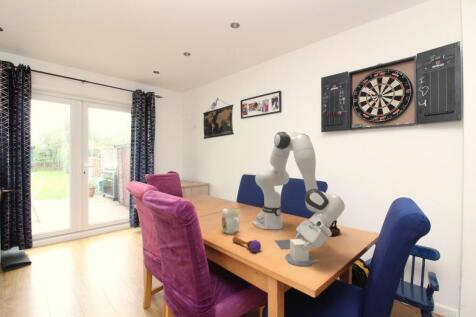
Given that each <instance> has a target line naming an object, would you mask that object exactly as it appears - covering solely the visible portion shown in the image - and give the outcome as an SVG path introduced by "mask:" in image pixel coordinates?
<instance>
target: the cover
mask: <svg viewBox="0 0 476 317" xmlns="http://www.w3.org/2000/svg"><path fill="white" fill-rule="evenodd" d="M289 240H290V249H289V254H290V256H291V258H292V259H293V260H294V261H295V262H304V261H309V256H310V253H309V252H310V248H308V249H306V251H304V250H303V249H302V248H301V247H302V246H303V245H305V244H307V242H308V241H306V239H305V238H300V239H295V238H294V239H293V238H292V239H291V238H290V239H289Z"/></svg>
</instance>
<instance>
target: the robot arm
mask: <svg viewBox="0 0 476 317" xmlns="http://www.w3.org/2000/svg"><path fill="white" fill-rule="evenodd" d="M273 143H274V146H273V149H272V150H271V151H272V152H271V153H270V154H271V156H270V157H269V158H270V159H269V163H270V165H271V167H273V168H272V169H270V170H261V171H258V172H257V173H256V174H255V178H254V180H255V184H256V185H257V187H258V186H259V187H260V189H261V190H262V193H263V199H264V200H263V201H264V202H263V203H264V205H262V206H261V209H262V211H260V212H258V213H257V214H256V217H255V220H253V221H252V225H255V226H256V227H258V228H260V229H262V230H280V229H282V228H284V226H283V219H282V206H281V204H282V203H281V201H282V200H281V194H280V193H279V192H277V191H276V190H275V187H280V186H284V185H287V184H288V183H289V180H290V175H289V173H288V171H287V169H286V166H287V162H288V160H289V156H290V153H291V151H292V152H293V157H294V161H295V163H296V166H297V168H298V170H299V172H300V174H301V177H302V178H303V182H304V183H303V184H304V186H305V191H306V192H305V194H304V202H305V208H306V210H307V211H308V212H309V213H310V214H313V215H312V216H311V217H310V218H308V219H306V220H305V219H304V220H303V221H302V222H300V224H299V225H298V226H297V227H296V229H295V230H296V232H297V234H296V236H295V238H294V239H301V238H302V237H303V239H304V240H305V241H306V240H307V241H306V242H307V244H305V245H303V246H302V247H301V248H302V249H303V250H304V251H306V249H308V248H309V249H310V248H312V247H314V248H315V249H318V248H320V247H321V246H322V245H323V244H324V243H325V242H326V241H327V239H328V238H329V237H331V236H333V234H332V233H331V231H330V229H329V227H330V226H331V224H332V222H333V221H335V220H336V219H337V220H338V218H340V216H341V215H342V214H343V212H344V211H345V208H346V206H345V203H344V201H343V199H341V198H340V196H338V195H337V194H330V193H327V192H324V191H322V190H320V189H319V187H318V183H317V179H316V167H317V166H316V165H317V161H316V160H317V158H316V153H315V149H314V146H313V143H312V141H311V138H310V137H309V135H307V134H304V133H300V132H295V131H293V132H292V131H277V133H276V134H275V136H274V139H273Z"/></svg>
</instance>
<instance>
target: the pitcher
mask: <svg viewBox="0 0 476 317" xmlns="http://www.w3.org/2000/svg"><path fill="white" fill-rule="evenodd" d="M221 213H222V217H221V226H222V230H223V231H224V233H225V234H228V235H232V234H235V233H236V232H237V231H238V230H239V229H240V219H239V216H238V215H239V211H238V210H236V209H230V208H223V209H222V211H221Z"/></svg>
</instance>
